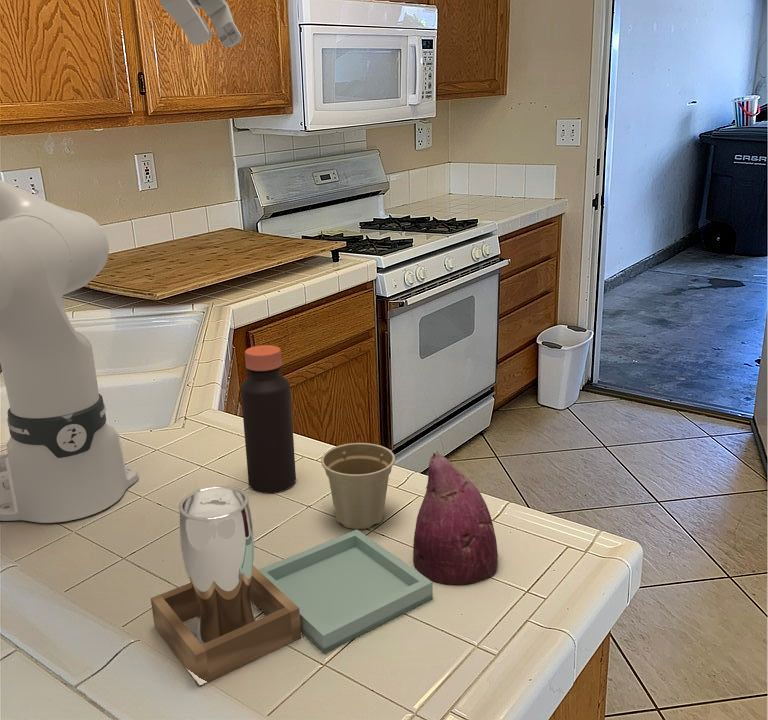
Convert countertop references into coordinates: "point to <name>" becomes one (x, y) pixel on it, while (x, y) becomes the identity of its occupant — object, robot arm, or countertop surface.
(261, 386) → the bottle
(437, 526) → the vegetable
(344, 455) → the flower pot
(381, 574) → the tray
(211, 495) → the beer glass
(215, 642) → the frame
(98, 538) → the countertop surface
